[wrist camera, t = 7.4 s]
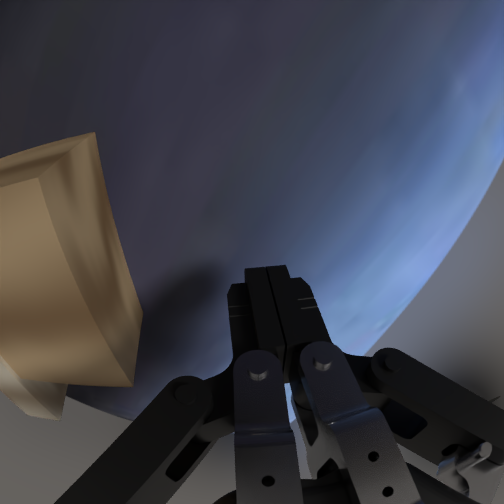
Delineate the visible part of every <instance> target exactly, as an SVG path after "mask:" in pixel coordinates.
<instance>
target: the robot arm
mask: <svg viewBox="0 0 504 504" xmlns="http://www.w3.org/2000/svg"><path fill="white" fill-rule="evenodd" d="M227 299H228V310H229V322H230V331H231V340H232V349H233V359H232V362H231V364H230V365H229V367H228V368H227V369H226V370H225V371H223V372H222V373H220V374H218V375H216V376H214V377H211V378H208V379H206V380H202V379H200V378H198V377H194V376H181V377H178V378H175V379H173V380H172V381H170V382H169V383H168V384H167V385H166V386H165V388H164V389H163V390H162V391H161V392H160V393H159V394H158V395H157V396H156V397H155V398H154V400H153V401H152V402H151V403H150V404H149V405H148V406H147V407H146V408H145V409H144V410H143V411H142V413H141V414H140V415H139V416H138V417H137V418H136V419H135V420H134V421H133V422H132V423H131V424H130V425H129V426H128V428H127V429H126V430H125V431H124V432H123V433H122V434H121V435H120V436H119V437H118V438H117V439H116V440H115V441H114V442H113V444H111V446H110V447H109V448H108V449H107V450H106V451H105V452H104V453H103V454H102V455H101V456H100V457H99V458H98V459H97V460H96V461H95V462H94V463H93V464H92V465H91V467H89V468H88V469H87V470H86V471H85V472H84V473H83V475H82V476H81V477H80V478H79V479H78V480H77V481H76V482H75V483H74V484H73V485H72V486H71V487H70V488H69V489H68V490H67V491H66V492H65V493H64V494H63V495H62V496H61V497H60V498H59V499H58V500H57V501H56V502H55V503H54V504H166V503H167V502H168V500H169V499H170V498H171V497H172V496H173V494H174V493H175V492H176V491H177V490H178V489H179V488H180V486H181V485H182V484H183V483H184V482H185V480H186V479H187V478H188V477H189V476H190V474H191V473H192V472H193V471H194V469H195V468H196V467H197V466H198V464H199V463H200V462H201V461H202V460H203V458H204V457H205V456H206V454H207V453H208V452H209V451H210V449H211V448H212V447H213V445H214V444H215V443H216V441H217V440H218V439H219V438H221V437H223V436H226V435H228V434H230V433H233V432H235V434H234V447H235V472H236V490H234V491H232V492H230V493H228V494H226V495H224V496H223V497H221V498H220V499H218V500H217V501H216V502H214V503H213V504H491V502H492V500H493V498H494V495H495V493H496V490H497V488H498V486H499V483H500V480H501V478H502V475H503V473H504V410H503V409H501V408H499V407H497V406H496V405H494V404H492V403H490V402H489V401H487V400H485V399H483V398H481V397H480V396H478V395H476V394H474V393H473V392H471V391H469V390H468V389H466V388H464V387H462V386H460V385H459V384H457V383H455V382H453V381H452V380H450V379H448V378H447V377H445V376H443V375H441V374H440V373H438V372H436V371H435V370H433V369H431V368H429V367H428V366H426V365H424V364H422V363H421V362H419V361H417V360H416V359H414V358H412V357H410V356H409V355H407V354H405V353H403V352H402V351H400V350H398V349H395V348H383V349H380V350H378V351H377V352H376V353H375V354H374V356H373V357H366V356H355V355H350V354H346V353H344V352H342V351H341V349H340V348H339V347H337V346H336V345H334V344H333V343H332V341H331V339H330V337H329V334H328V331H327V329H326V326H325V324H324V321H323V318H322V316H321V313H320V311H319V308H318V307H317V303H316V300H315V299H314V295H313V293H312V290H311V288H310V286H309V285H308V284H307V283H306V282H305V281H304V280H303V279H302V278H301V277H299V278H290V275H289V272H288V269H287V267H286V265H279V266H268V267H257V268H246V269H245V283H237V284H232V285H231V287H230V289H229V291H228V294H227ZM285 383H290V386H291V390H292V395H291V404H292V407H293V410H294V413H295V416H296V419H297V422H298V425H299V428H300V431H301V434H302V437H303V440H304V443H305V447H306V451H307V463H308V467H309V470H310V473H311V476H312V479H300V472H299V465H298V457H297V451H296V450H297V449H296V443H295V437H294V433H293V430H292V429H291V427H290V423H289V416H288V409H287V401H286V394H285V387H284V384H285ZM396 442H397V443H398V444H400V445H402V446H404V447H405V448H407V449H409V450H411V451H412V452H414V453H416V454H417V455H419V456H421V457H423V458H425V459H426V460H428V461H430V462H432V463H434V464H436V465H438V466H439V467H438V471H437V474H436V476H437V479H438V480H440V481H443V482H444V483H445V484H446V485H445V484H443V483H442V482H440V481H438V480H437V479H435V478H433V477H431V476H430V475H428V474H426V473H425V472H423V471H421V470H420V469H418V468H416V467H414V466H413V465H411V464H409V463H407V462H405V460H404V458H403V456H402V454H401V451H400V449H399V447H398V445H397V443H396Z"/></svg>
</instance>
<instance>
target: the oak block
mask: <svg viewBox="0 0 504 504" xmlns="http://www.w3.org/2000/svg"><path fill="white" fill-rule="evenodd" d="M142 318H143V311H142V308H141V305H140V303H139V300H138V297H137V294H136V291H135V288H134V285H133V282H132V279H131V276H130V273H129V270H128V267H127V264H126V261H125V257H124V254H123V251H122V247H121V244H120V240H119V237H118V233H117V230H116V226H115V222H114V219H113V215H112V211H111V207H110V203H109V199H108V195H107V190H106V186H105V182H104V177H103V172H102V168H101V163H100V158H99V153H98V147H97V142H96V136H95V132H93V133H88V134H84V135H79V136H75V137H71V138H67V139H63V140H59V141H55V142H52V143H48V144H45V145H41V146H38V147H34V148H31V149H28V150H25V151H21V152H18V153H15V154H12V155H9V156H6V157H4V158H1V159H0V355H1V356H2V358H3V359H4V360H5V361H6V362H7V363H8V365H9V366H10V367H11V368H12V369H13V370H14V371H15V373H16V374H17V375H18V376H19V377H20V378H21V379H28V380H35V381H44V382H53V383H63V384H75V385H89V386H111V387H133V385H134V376H135V367H136V359H137V351H138V344H139V337H140V330H141V324H142Z"/></svg>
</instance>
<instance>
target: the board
mask: <svg viewBox="0 0 504 504" xmlns="http://www.w3.org/2000/svg"><path fill="white" fill-rule="evenodd" d="M67 386H68V384H63V383H53V382H44V381H35V380H28V379H21V378H20V377H19V376H18V375H17V374H16V373H15V371H14V370H13V369H12V368H11V367H10V366H9V365H8V363H7V362H6V361H5V360H4V359H3V358H2V356H1V355H0V390H1V391H2V392H3V393H4V394H5V395H6V396H7V397H8V398H9V399H10V400H11V401H12V402H13V403H14V404H16V405H17V406H18V407H19V408H20V409H21V410H22V411H24V412H25V413H26V414H27V415H29V416H34V417H39V418H44V419H50V420H56V421H60V420H61V416H62V410H63V405H64V400H65V396H66V391H67Z"/></svg>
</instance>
